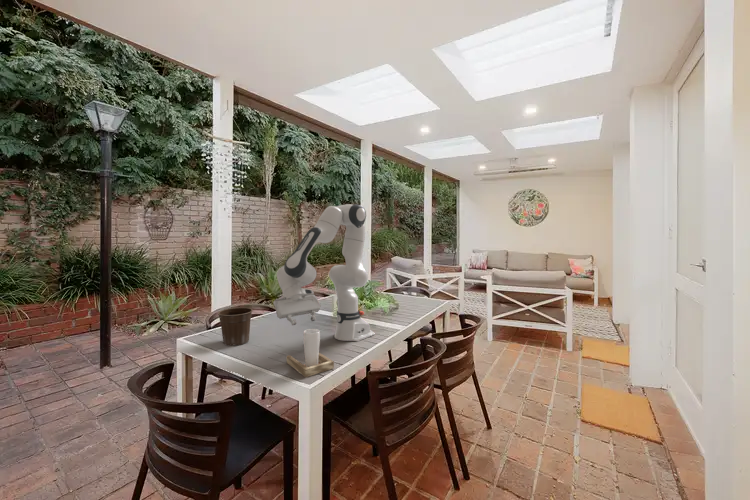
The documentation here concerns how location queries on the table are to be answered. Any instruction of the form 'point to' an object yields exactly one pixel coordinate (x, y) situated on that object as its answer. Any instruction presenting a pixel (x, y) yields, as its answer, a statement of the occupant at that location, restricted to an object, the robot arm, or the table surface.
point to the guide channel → (322, 366)
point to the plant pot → (235, 325)
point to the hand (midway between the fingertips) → (304, 322)
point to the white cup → (311, 346)
